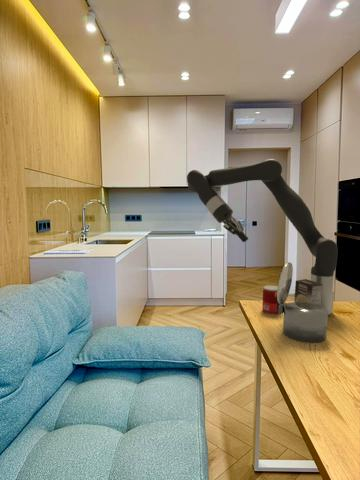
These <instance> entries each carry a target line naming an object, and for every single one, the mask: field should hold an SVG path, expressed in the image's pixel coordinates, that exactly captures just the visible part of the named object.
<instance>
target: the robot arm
mask: <svg viewBox="0 0 360 480" xmlns="http://www.w3.org/2000/svg"><path fill="white" fill-rule="evenodd" d="M282 171H283V167H282V164H281V163H280V162H279V161H278V160H276V159H275V158H274V159H273V158H267V159H264V160H262V161H261V162H259V163H255V164H251V165H244V166H236V167H226V168H219V169H214V170H210V171H209V172H208V174H206V175H204V173H202V172H201V171H200V170H197V169H193V170H191V171H189V172H188V173H187V176H186V182H187V187H188V189H189V190H190V191H192V192H195V193H196V194H197V196H198V199H199V200H200V201H201V202H202V204H203V205H204V206H205V207H206V208H207V211H208V212H209V213H210V214H211V216H213V217H214V219H215V220H216V221H217V222H218V224H221V223H223V224H224V225H222V227H223V229H225V230H227V231H228V232H229V233H230V234H231V235H235V236H237V237H238V238H239V240H241V242H242V243H246V242H247V241H248V240H249V237H248V236H247V235H246V233H244V227H243V225H242V222H241V221H240V220H237V218H235V217H234V216H232V215H233V213H234V210H233V209H232V208H231V207H230V206H229V205H228V203H227V202H226V201H225V200H224V199H223V198H222V197H221V196H220V195H219V194H218V193H217V191H215V189H213V188H215V187H221V186H222V187H223V186H227V185H228V186H229V185H234V184H239V183H243V182H251V181H261V182H262V183H263V184H264V185H265V187H267V188H268V190H269V191H270V193H272V196H273V197H274V198H275V200H276V202H277V204H278V205H279V206H280V209H281V211H282V212H283V213H284V215H285V216H286V217H287V219H288V221H290V223H291V224H292V226H293V227H294V229H295V230H296V231H297V232H298V234H299V235H300V236H301V238H302V239H303V241H304V243H305V245H306V246H307V249H308V250H309V252H310V253H311V255H312V256H313V257H315V260H314V265H313V266H312V267H311V269H310V279H309V280H311V281H314V282H317V283H320V284H322V297H321V306H322V307H324V308H326V309H327V310H328V316H330V315H331V314H333V312H334V311H333V310H334V297H335V296H334V295H335V291H333V289H334V288H333V287H334V286H333V285H334V273H335V270H336V269H337V263H338V254H339V253H338V252H339V249H338V245H337V242H336V241H334V240H332V239H330V238H325V237H324V236H323V235H322V234H321V232H320V231H319V230H318V228H317V227H316V226H315V222H314V219H313V217H312V213H311V211H310V209H309V207H308V206H307V204H306V202H304V200H303V199H302V197H301V196H300V195H299V194H298V192H296V191H295V190H293V188H291V186H289V185H288V183H287V182H286V181H285V179H284V178H283V176H282V173H283V172H282Z"/></svg>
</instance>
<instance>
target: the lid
mask: <svg viewBox="0 0 360 480" xmlns="http://www.w3.org/2000/svg"><path fill="white" fill-rule="evenodd" d="M283 265H284V266H283V267H282V270H281V272H280V274H279V276H278V282H277V286H278V289H277V292H275V295H274V296H275V297H277V301H278V303H279V304H284V303H286V300H287V299H288V296H289V294H290V291H291V287H292V283H293V281H292V280H293V273H294V272H293V271H294V269H293V264H292V262H289V261H287V262H285V264H283Z"/></svg>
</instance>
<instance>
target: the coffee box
mask: <svg viewBox="0 0 360 480" xmlns="http://www.w3.org/2000/svg"><path fill="white" fill-rule="evenodd" d="M294 288H295V289H294V301H293V302H304V303H311V304H316V305H319V306H321V297H322V284H320V283H317V282H314V281H311V280H310V279H306V278H305V279H304V278H303V279H299V280H297V279H296V280H295V287H294Z"/></svg>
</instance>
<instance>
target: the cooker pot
mask: <svg viewBox="0 0 360 480" xmlns="http://www.w3.org/2000/svg"><path fill="white" fill-rule="evenodd" d="M278 313H279V314H281V315H283V320H282V321H283V322H282V323H283V324H282V334H283V335H284V336H285V337H286V338H288V339H291V340H292V339H293V340H292V341H295V340H296V342H299V341H300V342H301V343H304V342H305V343H307V344H319V343H323V342H325V341H326V340H327V328H328V316H329V315H328V310H327V309H326V308H324V307H322V306H319V305H316V304H311V303H304V302H294V301H293V302H287V303H286V302H285V303H284V304H281V305H279V306H278Z"/></svg>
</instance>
